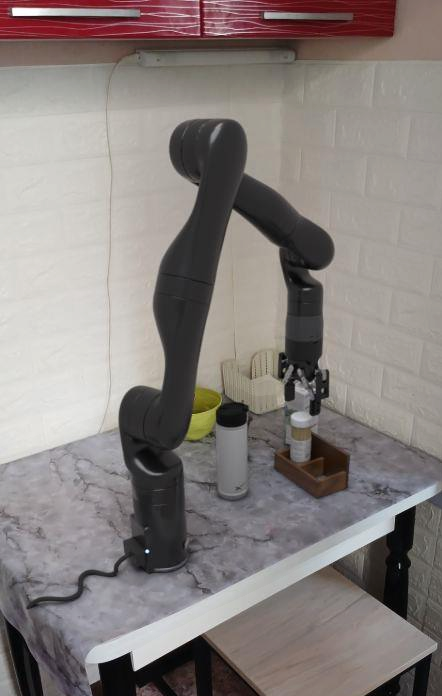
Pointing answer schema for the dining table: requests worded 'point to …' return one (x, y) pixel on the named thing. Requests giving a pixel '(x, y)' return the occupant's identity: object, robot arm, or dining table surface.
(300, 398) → the syrup box
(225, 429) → the travel mug
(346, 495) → the dining table surface
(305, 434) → the brown spice jar
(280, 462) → the spice rack
